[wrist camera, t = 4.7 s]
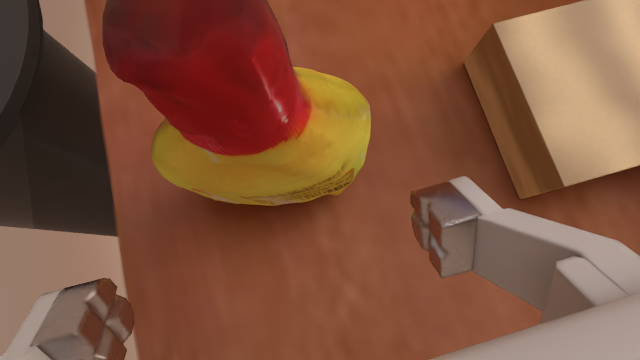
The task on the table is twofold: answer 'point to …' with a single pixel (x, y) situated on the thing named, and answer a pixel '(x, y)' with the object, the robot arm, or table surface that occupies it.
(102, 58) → the table surface
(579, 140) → the birch block
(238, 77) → the bottle
